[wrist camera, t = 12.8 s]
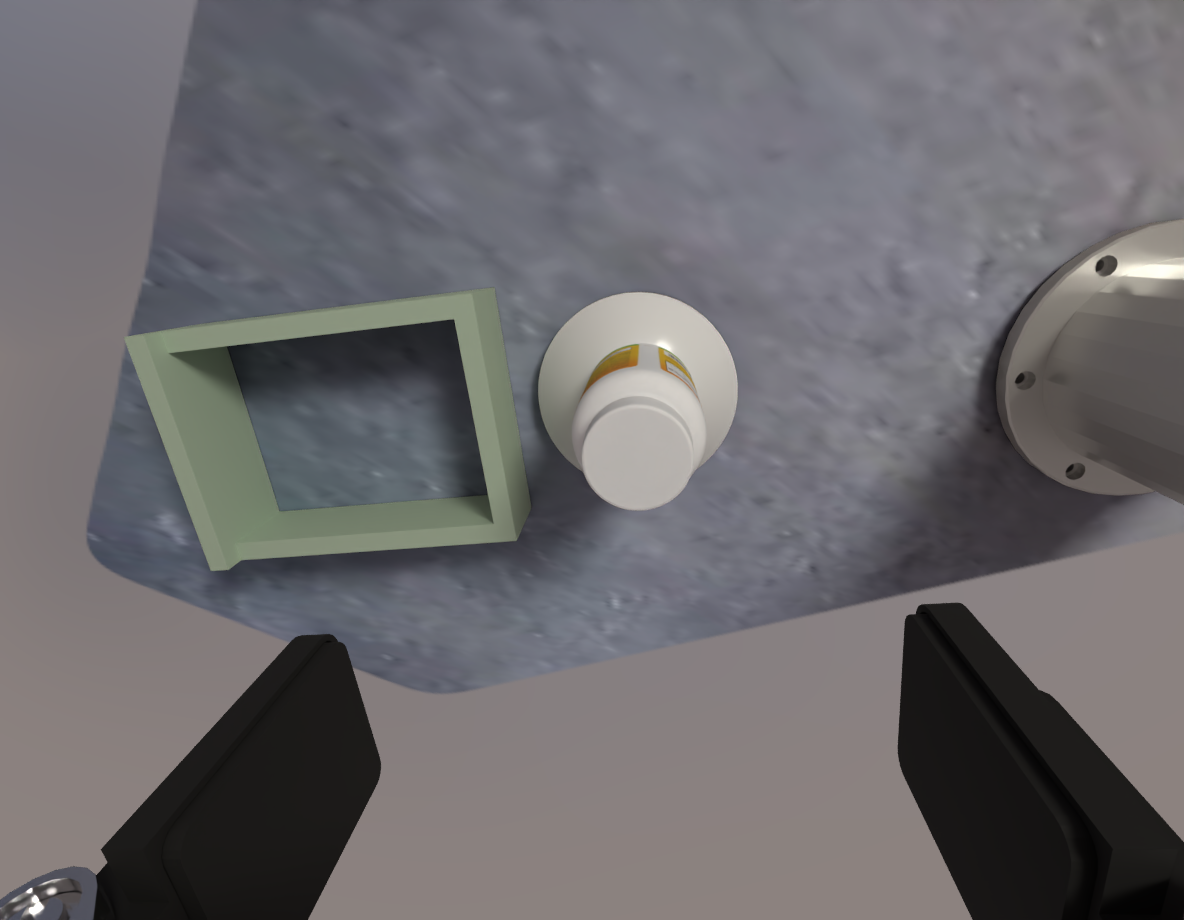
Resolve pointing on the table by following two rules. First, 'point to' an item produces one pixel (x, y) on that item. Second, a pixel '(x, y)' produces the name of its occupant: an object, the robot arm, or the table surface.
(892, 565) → the table surface
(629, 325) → the saucer
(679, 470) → the supplement bottle
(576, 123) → the table surface
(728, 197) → the table surface
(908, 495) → the table surface
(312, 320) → the frame
